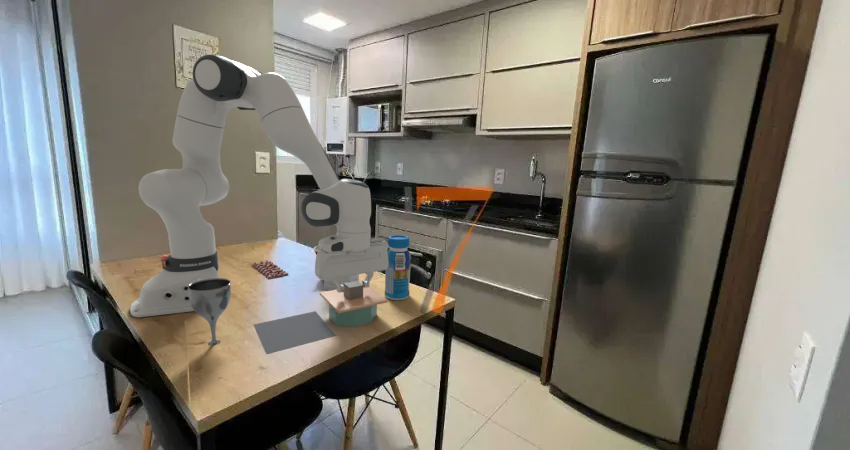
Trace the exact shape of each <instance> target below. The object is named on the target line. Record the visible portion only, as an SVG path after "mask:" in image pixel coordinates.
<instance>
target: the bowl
mask: <svg viewBox="0 0 850 450" xmlns="http://www.w3.org/2000/svg"><path fill="white" fill-rule="evenodd" d="M328 310H329V311H328V313H329V314H328V315H329V317H328V318H329V319H330V320H331V321H332V322H333V324H335V326H345V327H351V328H352V327H353V328H355V327H358V326H363V325H367V324H370V323H372V322H373V320H374V319H375V317H376V316H377V315H378V314H377V313H378V305H374V306H369V307H365V308H360V309H356V310H352V311H347V312H343V313H338V312H337V311H336V310H335V309H334V308H333V307H332V306H331V305H330V304H329V303H328Z"/></svg>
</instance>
